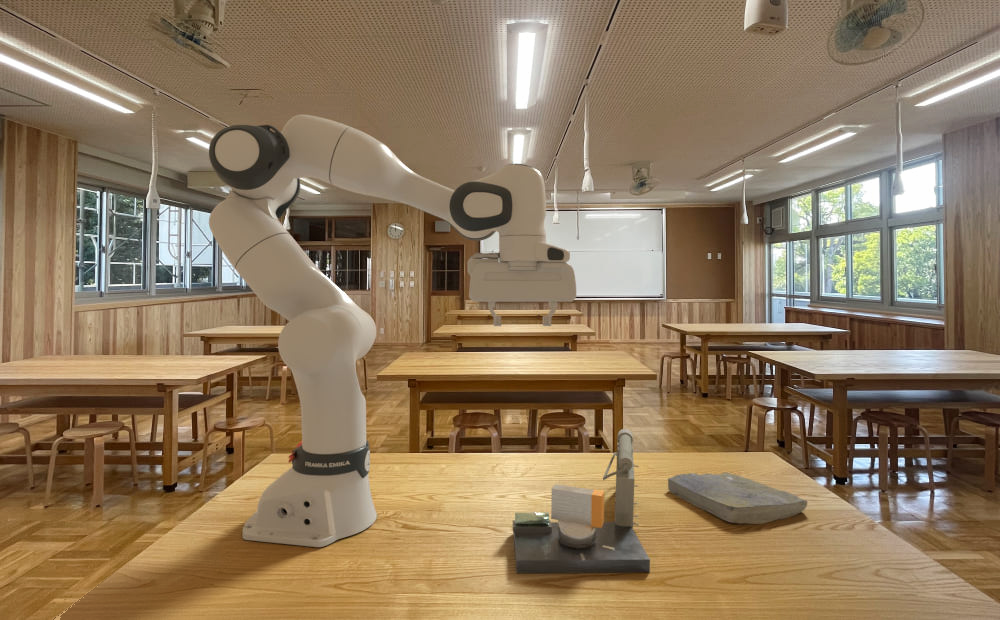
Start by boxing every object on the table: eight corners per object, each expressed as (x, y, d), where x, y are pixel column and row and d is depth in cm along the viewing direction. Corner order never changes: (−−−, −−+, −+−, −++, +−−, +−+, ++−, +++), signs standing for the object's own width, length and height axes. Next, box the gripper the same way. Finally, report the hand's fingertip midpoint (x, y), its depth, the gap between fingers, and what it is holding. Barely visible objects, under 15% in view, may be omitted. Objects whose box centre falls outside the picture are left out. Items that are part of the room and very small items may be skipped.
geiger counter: (641, 461, 86) (637, 421, 110) (603, 458, 88) (607, 419, 112) (638, 542, 87) (635, 485, 111) (600, 537, 88) (605, 481, 113)
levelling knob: (547, 542, 82) (548, 493, 81) (557, 525, 87) (557, 479, 87) (598, 552, 79) (599, 501, 78) (605, 534, 84) (606, 486, 84)
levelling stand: (515, 573, 77) (515, 541, 77) (512, 533, 89) (512, 505, 89) (649, 572, 77) (650, 540, 77) (628, 533, 89) (629, 504, 89)
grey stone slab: (723, 482, 115) (661, 489, 108) (725, 462, 115) (663, 468, 108) (806, 524, 97) (738, 535, 90) (809, 500, 96) (740, 510, 90)
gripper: (466, 251, 94) (466, 327, 95) (578, 251, 94) (577, 327, 95) (468, 253, 100) (468, 324, 101) (572, 253, 100) (572, 324, 101)
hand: (522, 325), depth 98 cm, fingers open, 8 cm apart
